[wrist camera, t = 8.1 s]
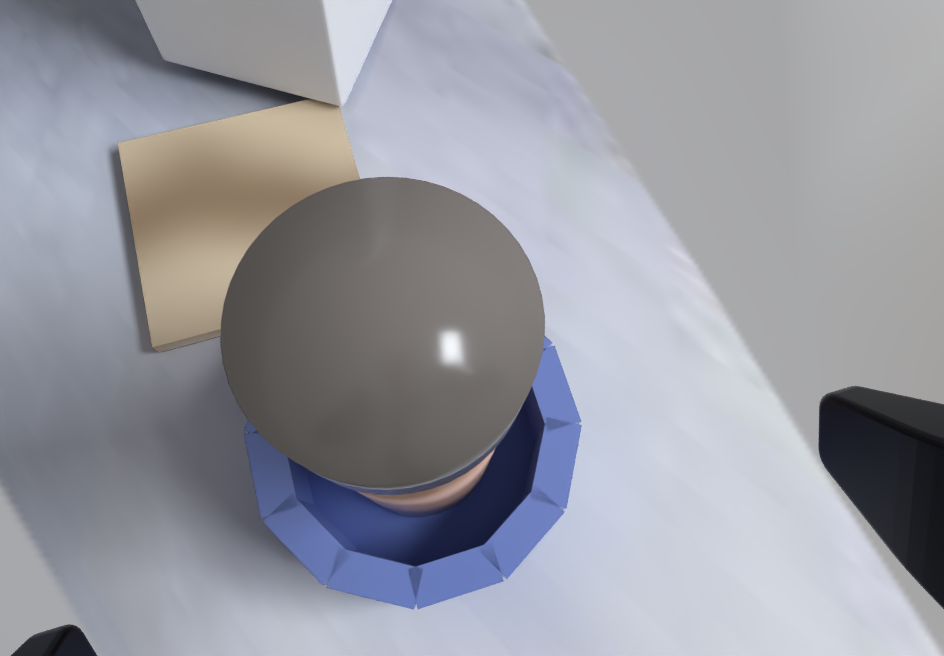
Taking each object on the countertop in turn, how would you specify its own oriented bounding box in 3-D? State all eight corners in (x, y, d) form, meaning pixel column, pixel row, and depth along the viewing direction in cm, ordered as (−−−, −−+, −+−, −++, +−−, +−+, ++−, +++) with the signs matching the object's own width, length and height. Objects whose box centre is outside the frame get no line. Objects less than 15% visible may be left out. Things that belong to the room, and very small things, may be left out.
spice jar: (512, 494, 21) (590, 427, 9) (365, 540, 20) (256, 529, 9) (468, 355, 22) (489, 147, 11) (329, 394, 21) (194, 218, 10)
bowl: (596, 542, 21) (623, 542, 18) (314, 634, 20) (288, 651, 17) (508, 286, 24) (518, 243, 21) (254, 355, 23) (221, 322, 19)
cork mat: (391, 290, 24) (389, 283, 23) (159, 352, 23) (152, 347, 22) (337, 103, 26) (335, 93, 25) (125, 152, 25) (117, 143, 24)
